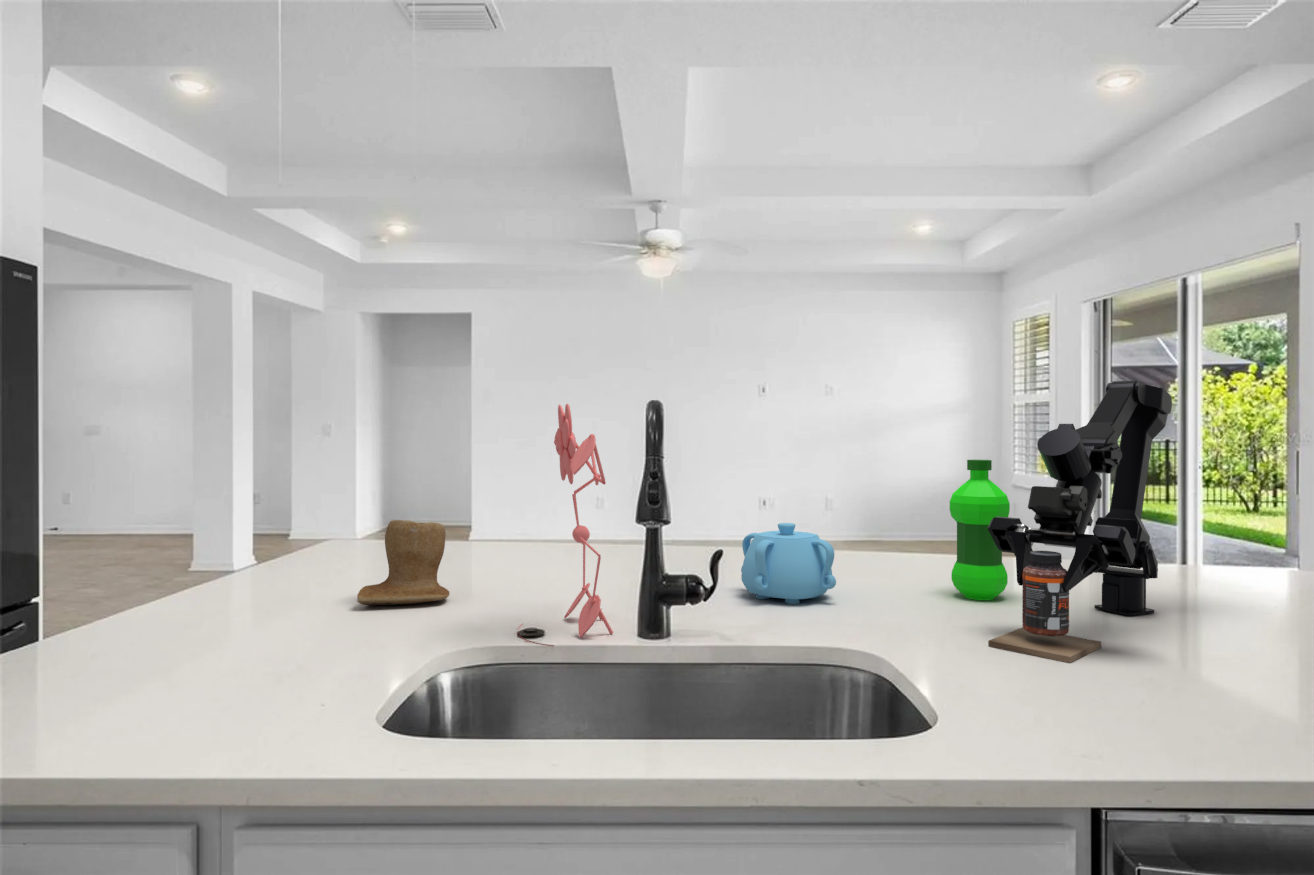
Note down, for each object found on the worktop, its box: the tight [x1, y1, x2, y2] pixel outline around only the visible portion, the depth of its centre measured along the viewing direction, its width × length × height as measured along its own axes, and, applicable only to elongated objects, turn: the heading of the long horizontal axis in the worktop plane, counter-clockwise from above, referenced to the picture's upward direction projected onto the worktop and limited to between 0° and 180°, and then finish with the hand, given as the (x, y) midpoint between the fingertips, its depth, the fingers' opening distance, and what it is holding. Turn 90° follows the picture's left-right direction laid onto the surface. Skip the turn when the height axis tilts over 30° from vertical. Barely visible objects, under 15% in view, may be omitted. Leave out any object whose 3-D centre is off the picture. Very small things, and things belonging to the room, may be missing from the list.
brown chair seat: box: [356, 519, 451, 606], centre depth 144 cm, size 15×12×15 cm
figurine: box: [513, 403, 614, 647], centre depth 124 cm, size 15×26×35 cm, turn 13°
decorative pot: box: [740, 522, 837, 605], centre depth 147 cm, size 16×16×14 cm
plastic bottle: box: [949, 459, 1011, 601], centre depth 146 cm, size 10×10×25 cm
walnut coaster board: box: [987, 626, 1102, 664], centre depth 113 cm, size 11×11×1 cm
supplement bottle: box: [1021, 550, 1070, 637], centre depth 113 cm, size 6×6×11 cm
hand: (1041, 586), depth 112 cm, fingers closed on supplement bottle, 6 cm apart
